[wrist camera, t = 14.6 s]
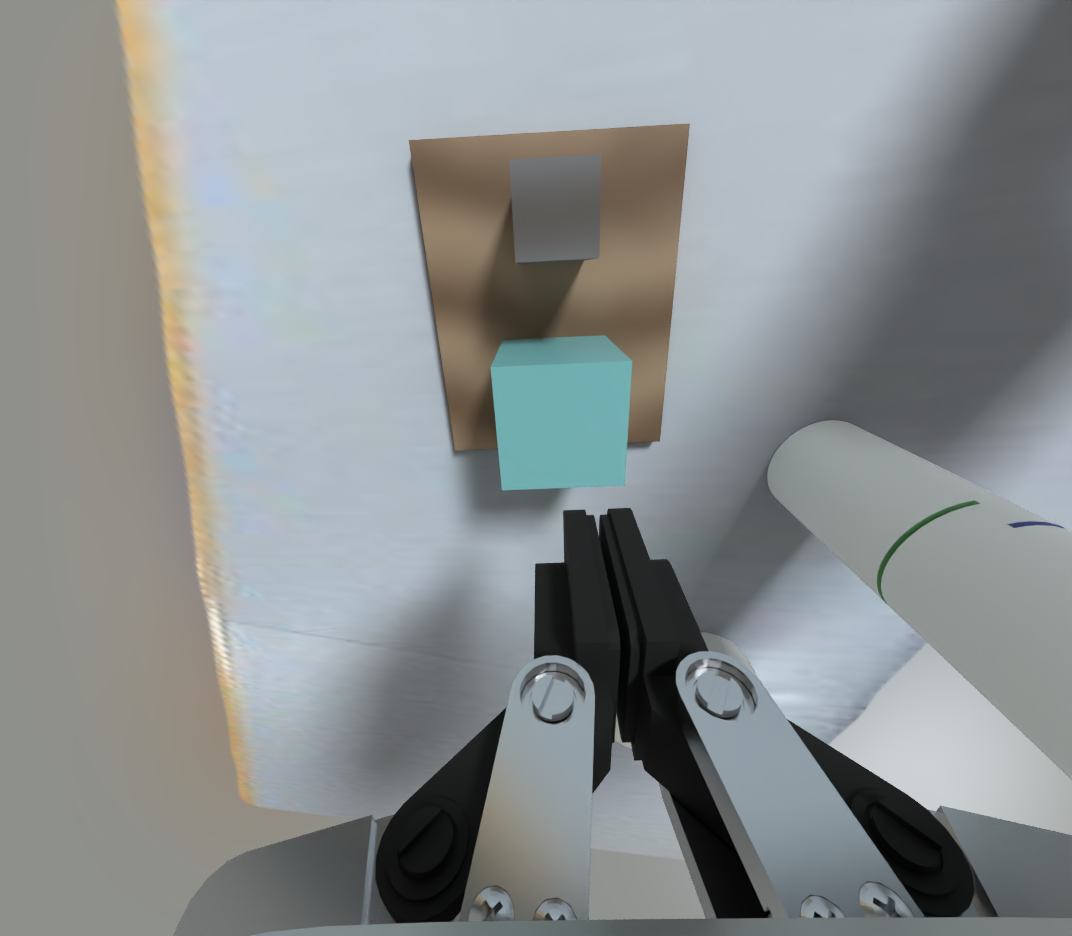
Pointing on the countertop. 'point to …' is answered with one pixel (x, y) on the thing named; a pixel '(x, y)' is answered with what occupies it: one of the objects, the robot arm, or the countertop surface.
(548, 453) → the aqua foam cube
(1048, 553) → the cylindrical container
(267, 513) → the countertop surface
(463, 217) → the walnut board
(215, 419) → the countertop surface
